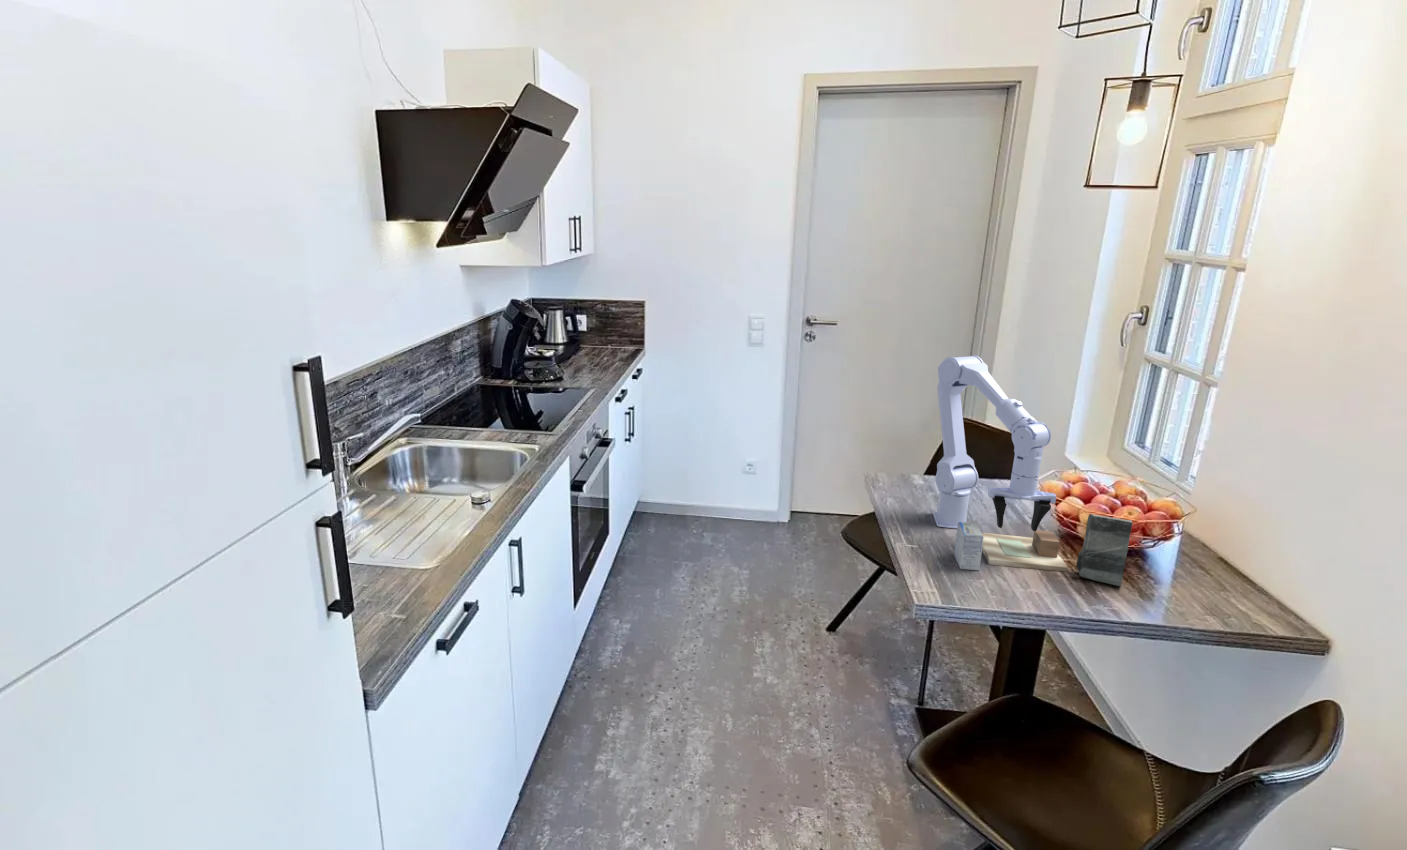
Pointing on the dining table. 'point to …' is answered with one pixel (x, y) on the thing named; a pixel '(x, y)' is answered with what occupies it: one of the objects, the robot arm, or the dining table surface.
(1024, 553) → the base board
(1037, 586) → the dining table surface
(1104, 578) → the stone block
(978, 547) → the medicine box
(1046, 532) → the walnut block
